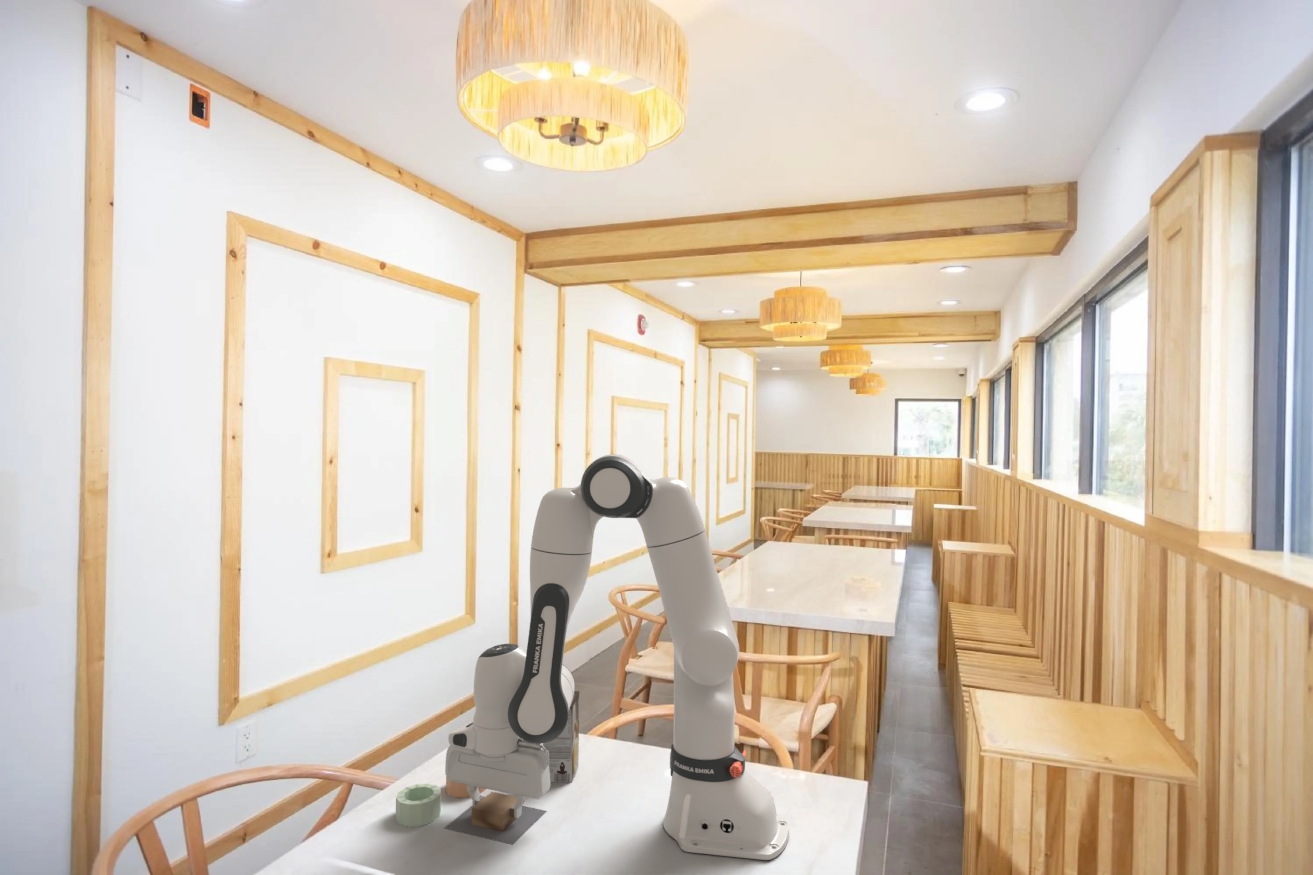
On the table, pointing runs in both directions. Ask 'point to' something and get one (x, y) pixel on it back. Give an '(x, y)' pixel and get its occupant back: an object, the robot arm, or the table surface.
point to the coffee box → (565, 747)
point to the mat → (507, 836)
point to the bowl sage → (418, 805)
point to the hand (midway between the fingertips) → (496, 812)
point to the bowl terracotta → (458, 789)
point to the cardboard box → (494, 811)
